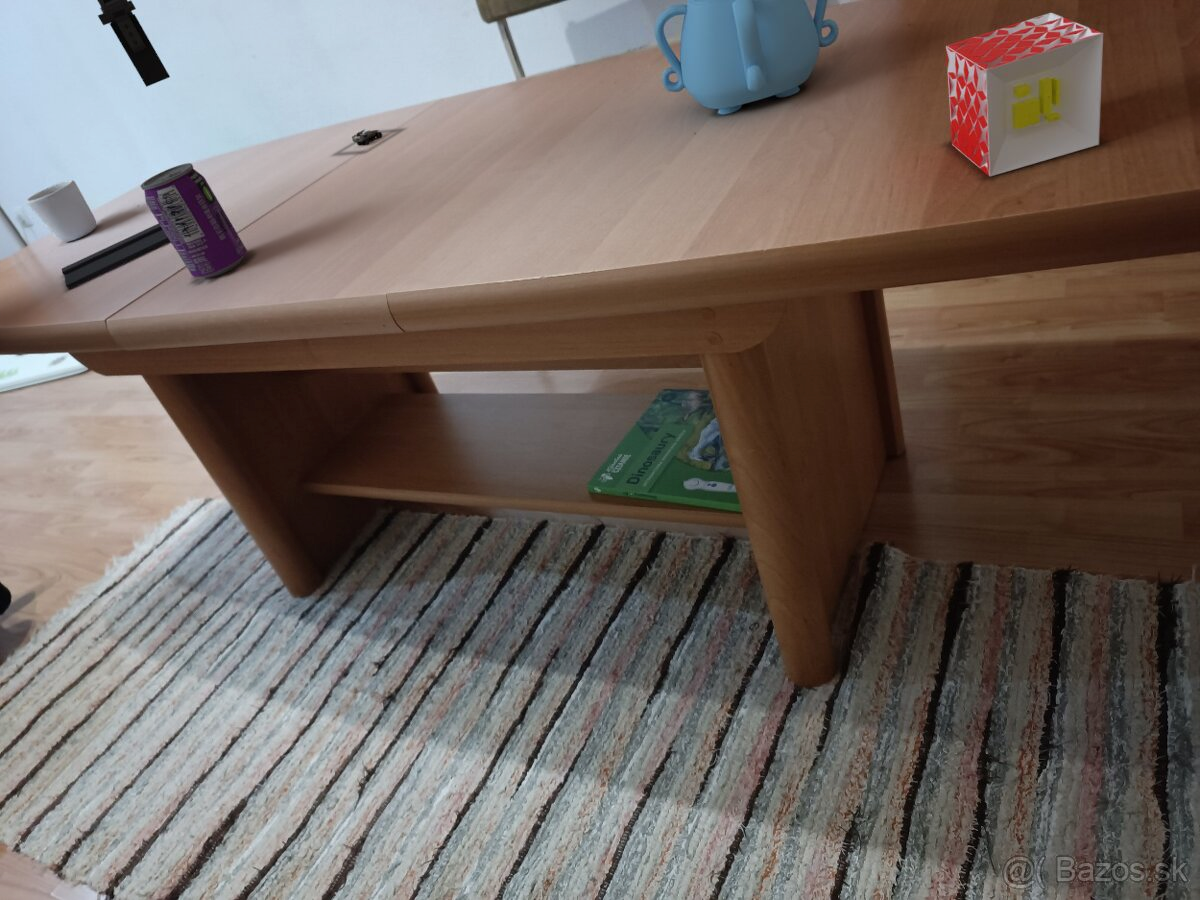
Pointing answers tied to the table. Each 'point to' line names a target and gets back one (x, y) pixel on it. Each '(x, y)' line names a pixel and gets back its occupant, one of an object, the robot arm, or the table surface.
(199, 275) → the beverage can
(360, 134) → the toy car
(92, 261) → the slotted black track
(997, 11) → the table surface
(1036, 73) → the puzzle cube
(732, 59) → the decorative pot
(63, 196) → the cup
